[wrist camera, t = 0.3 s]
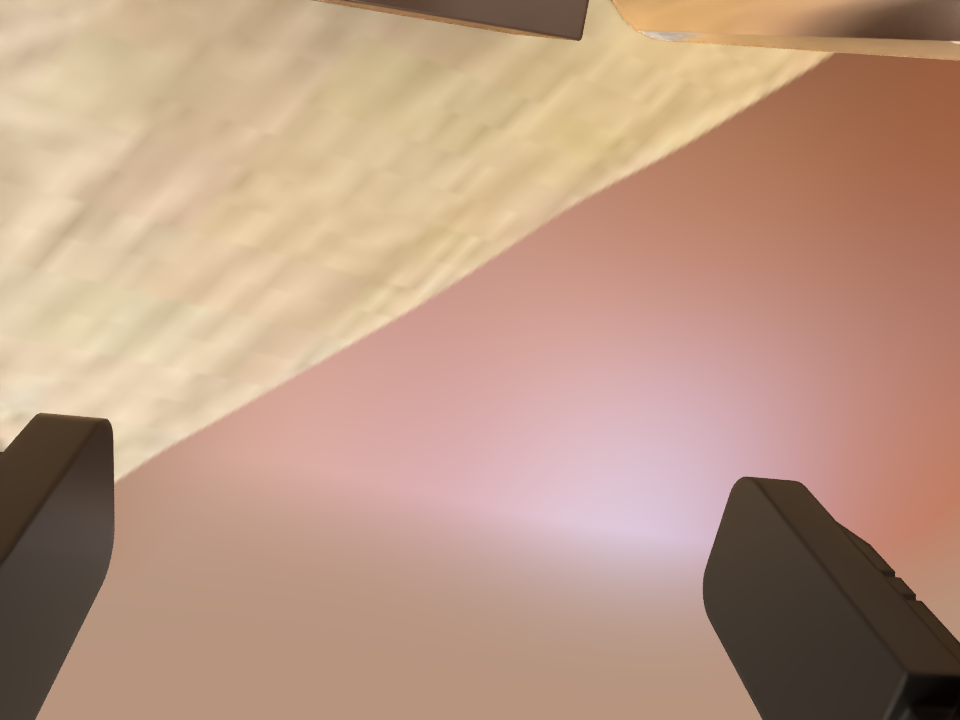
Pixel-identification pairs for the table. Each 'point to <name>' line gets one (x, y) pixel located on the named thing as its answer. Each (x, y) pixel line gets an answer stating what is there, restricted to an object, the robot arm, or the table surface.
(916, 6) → the beige cylinder
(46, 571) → the robot arm
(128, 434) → the table surface
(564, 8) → the shelf
